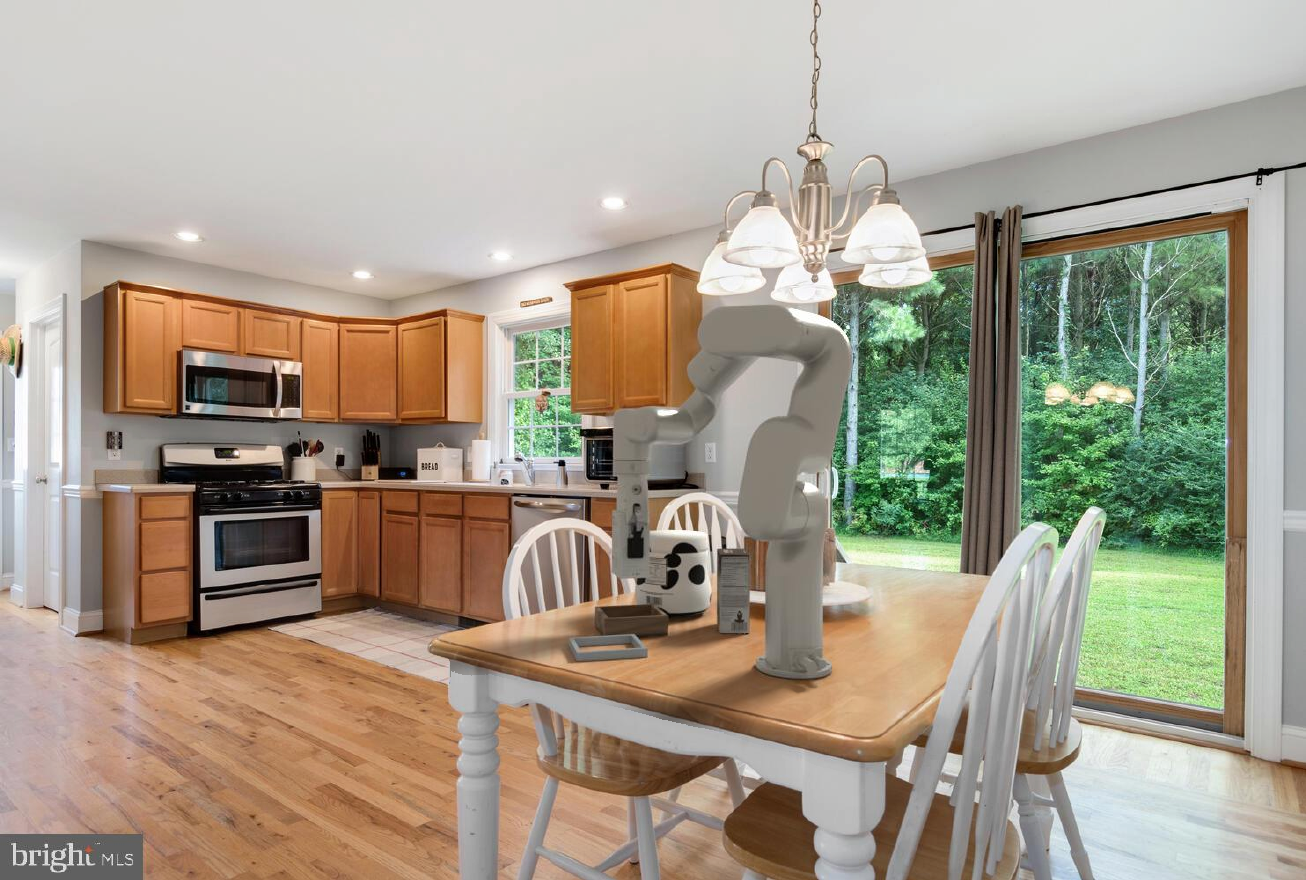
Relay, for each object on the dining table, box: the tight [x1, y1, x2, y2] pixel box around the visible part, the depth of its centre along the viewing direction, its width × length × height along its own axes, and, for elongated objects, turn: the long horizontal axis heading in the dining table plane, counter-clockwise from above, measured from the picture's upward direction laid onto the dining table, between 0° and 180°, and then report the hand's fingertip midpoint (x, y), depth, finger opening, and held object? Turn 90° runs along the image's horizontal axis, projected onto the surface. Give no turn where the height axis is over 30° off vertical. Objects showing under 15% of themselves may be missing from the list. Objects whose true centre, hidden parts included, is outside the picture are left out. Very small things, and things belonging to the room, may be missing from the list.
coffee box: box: [716, 548, 751, 635], centre depth 153 cm, size 9×6×16 cm
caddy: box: [594, 604, 669, 639], centre depth 151 cm, size 12×13×4 cm
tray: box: [568, 634, 649, 662], centre depth 135 cm, size 11×13×2 cm
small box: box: [611, 509, 651, 580], centre depth 151 cm, size 8×6×13 cm
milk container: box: [634, 529, 713, 618], centre depth 168 cm, size 17×17×18 cm
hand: (630, 554), depth 151 cm, fingers closed on small box, 8 cm apart
